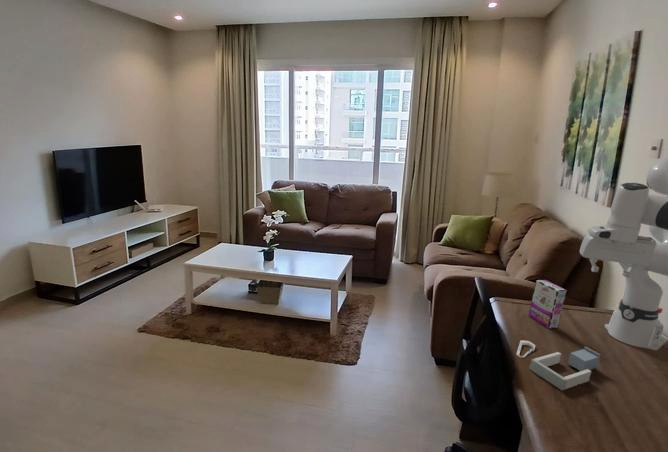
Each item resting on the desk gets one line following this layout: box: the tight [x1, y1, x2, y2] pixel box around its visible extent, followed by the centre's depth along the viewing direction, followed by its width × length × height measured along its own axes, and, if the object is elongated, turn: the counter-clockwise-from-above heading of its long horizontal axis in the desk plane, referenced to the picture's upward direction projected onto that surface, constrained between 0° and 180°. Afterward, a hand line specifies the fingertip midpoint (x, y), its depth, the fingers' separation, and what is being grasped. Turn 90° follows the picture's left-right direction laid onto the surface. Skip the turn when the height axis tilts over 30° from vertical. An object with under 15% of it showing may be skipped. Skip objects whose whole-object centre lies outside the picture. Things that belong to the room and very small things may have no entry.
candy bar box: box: [528, 279, 568, 329], centre depth 162 cm, size 11×5×16 cm, turn 17°
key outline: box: [515, 339, 536, 359], centre depth 142 cm, size 13×5×2 cm, turn 149°
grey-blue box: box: [567, 346, 601, 372], centre depth 133 cm, size 8×5×6 cm, turn 116°
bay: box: [529, 351, 592, 391], centre depth 128 cm, size 13×11×4 cm
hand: (610, 273), depth 132 cm, fingers open, 8 cm apart
